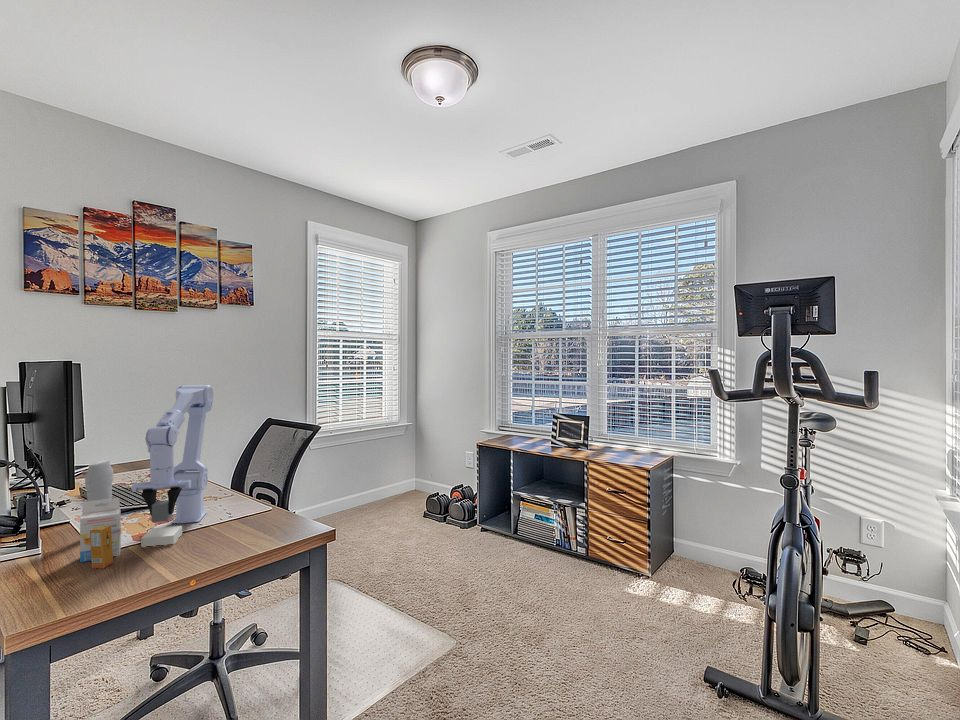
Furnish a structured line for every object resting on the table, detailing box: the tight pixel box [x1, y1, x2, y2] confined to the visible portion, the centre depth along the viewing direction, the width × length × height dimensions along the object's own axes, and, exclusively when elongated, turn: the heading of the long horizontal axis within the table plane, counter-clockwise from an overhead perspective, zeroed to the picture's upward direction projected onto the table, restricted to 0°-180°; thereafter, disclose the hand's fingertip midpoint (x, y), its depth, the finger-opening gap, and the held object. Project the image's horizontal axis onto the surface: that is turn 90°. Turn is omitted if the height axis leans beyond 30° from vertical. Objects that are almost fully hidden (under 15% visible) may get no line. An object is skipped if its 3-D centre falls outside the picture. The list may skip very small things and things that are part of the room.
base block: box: [140, 525, 183, 548], centre depth 143 cm, size 8×8×3 cm
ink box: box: [79, 497, 122, 563], centre depth 132 cm, size 8×5×15 cm, turn 123°
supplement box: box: [90, 526, 114, 569], centre depth 126 cm, size 3×3×10 cm
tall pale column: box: [84, 459, 114, 507], centre depth 148 cm, size 11×4×22 cm, turn 1°
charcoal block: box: [151, 499, 173, 523], centre depth 142 cm, size 4×4×5 cm
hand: (162, 513), depth 143 cm, fingers closed on charcoal block, 4 cm apart
